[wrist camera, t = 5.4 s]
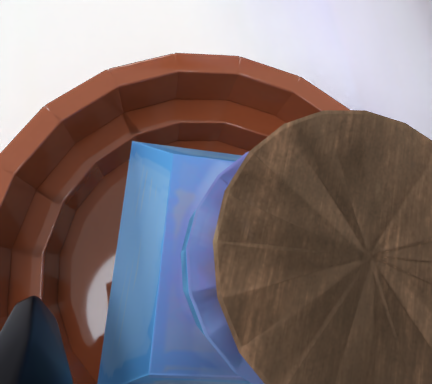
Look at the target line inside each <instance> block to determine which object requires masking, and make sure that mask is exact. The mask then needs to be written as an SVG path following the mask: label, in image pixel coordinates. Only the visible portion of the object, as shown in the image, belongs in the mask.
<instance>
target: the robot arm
mask: <svg viewBox="0 0 432 384" xmlns="http://www.w3.org/2000/svg"><path fill="white" fill-rule="evenodd" d="M0 384H73V380H72V376H71V372H70V368H69V364H68V361H67V357H66V353H65V349H64V345H63V342H62V338H61V334H60V330H59V326H58V323H57V320H56V318H55V317H54V315H53V314H52V313H51V311H50V310H49V309H48V308H47V307H46V305H45V304H44V303H43V302H42V301H41V299H40V298H39V297H37V296H30V297H28V298H26V299H24V300H22V301H20V302H18V303H17V304H16V305H15V306H14V308H13V310H12V311H11V313H10V315H9V317H8V319H7V321H6V322H5V324H4V326H3V328H2V330H1V331H0Z"/></svg>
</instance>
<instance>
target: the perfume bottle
mask: <svg viewBox="0 0 432 384" xmlns="http://www.w3.org/2000/svg"><path fill="white" fill-rule="evenodd" d="M97 384H432V140H430V139H429V138H427V137H426V136H424V135H423V134H421V133H419V132H418V131H416V130H415V129H413V128H412V127H410V126H409V125H407V124H406V123H403V122H400V121H397V120H393V119H390V118H387V117H384V116H381V115H378V114H374V113H371V112H368V111H357V110H323V111H320V112H317V113H314V114H311V115H308V116H305V117H302V118H299V119H296V120H294V121H291V122H288V123H285V124H283V125H282V126H280V127H279V128H278V129H277V130H275V131H274V132H273V133H272V134H270V135H269V136H268V137H267V138H265V139H264V140H263V141H261V142H260V143H259V144H258V145H256V146H255V147H254V148H253V149H251V150H250V151H249V152H246V153H245V154H244V155H243V156H242V155H234V154H227V153H219V152H212V151H204V150H196V149H189V148H181V147H174V146H166V145H158V144H151V143H143V142H135V141H132V146H131V153H130V159H129V166H128V173H127V180H126V187H125V194H124V201H123V208H122V215H121V222H120V229H119V236H118V243H117V250H116V257H115V264H114V271H113V278H112V285H111V292H110V299H109V306H108V313H107V320H106V327H105V334H104V341H103V348H102V355H101V362H100V369H99V376H98V383H97Z"/></svg>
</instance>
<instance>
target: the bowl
mask: <svg viewBox="0 0 432 384" xmlns="http://www.w3.org/2000/svg"><path fill="white" fill-rule="evenodd" d="M323 110H349V109H348V108H347V107H345V106H344V105H342V104H341V103H339V102H338V101H336V100H335V99H333V98H332V97H330V96H329V95H327V94H326V93H324V92H323V91H321V90H320V89H318V88H317V87H315V86H314V85H312V84H311V83H309V82H308V81H306V80H305V79H303V78H302V77H299V76H297V75H294V74H291V73H288V72H285V71H282V70H279V69H276V68H273V67H270V66H267V65H264V64H261V63H258V62H255V61H252V60H249V59H246V58H243V57H240V58H239V56H228V55H208V54H188V53H175V54H168V55H164V56H160V57H156V58H152V59H148V60H143V61H139V62H135V63H131V64H127V65H122V66H118V67H114V68H110V69H109V70H105V71H103V72H101V73H99V74H98V75H96V76H94V77H93V78H91V79H89V80H87V81H86V82H84V83H82V84H81V85H79V86H77V87H75V88H74V89H72V90H70V91H69V92H67V93H65V94H63V95H62V96H60V97H58V98H56V99H55V100H53V101H51V102H50V103H48V104H46V105H45V106H44V107H42V109H41V110H40V111H39V112H38V113H37V114H36V115H35V116H34V117H33V118H32V119H31V120H30V122H29V123H28V124H27V125H26V126H25V127H24V128H23V129H22V130H21V131H20V132H19V134H18V135H17V136H16V137H15V138H14V139H13V140H12V141H11V142H10V143H9V144H8V146H7V147H6V148H5V149H4V150H3V151H2V152H1V153H0V331H1V330H2V328H3V326H4V324H5V322H6V321H7V319H8V317H9V315H10V313H11V311H12V310H13V308H14V306H15V305H16V304H17V303H18V302H20V301H22V300H24V299H26V298H28V297H30V296H37V297H39V298H40V299H41V301H42V302H43V303H44V304H45V305H46V307H47V308H48V309H49V310H50V311H51V313H52V314H53V315H54V317H55V318H56V320H57V323H58V326H59V330H60V334H61V338H62V342H63V345H64V349H65V353H66V357H67V361H68V364H69V368H70V372H71V376H72V380H73V384H97V383H98V376H99V369H100V362H101V355H102V348H103V341H104V334H105V327H106V320H107V313H108V306H109V299H110V292H111V285H112V278H113V271H114V264H115V257H116V250H117V243H118V236H119V229H120V222H121V215H122V208H123V201H124V194H125V187H126V180H127V173H128V166H129V159H130V153H131V146H132V141H135V142H143V143H151V144H158V145H166V146H174V147H181V148H189V149H196V150H204V151H212V152H219V153H227V154H234V155H242V156H243V155H244V154H245V153H246V152H249V151H250V150H251V149H253V148H254V147H255V146H256V145H258V144H259V143H260V142H261V141H263V140H264V139H265V138H267V137H268V136H269V135H270V134H272V133H273V132H274V131H275V130H277V129H278V128H279V127H280V126H282V125H283V124H285V123H288V122H291V121H294V120H296V119H299V118H302V117H305V116H308V115H311V114H314V113H317V112H320V111H323Z"/></svg>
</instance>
